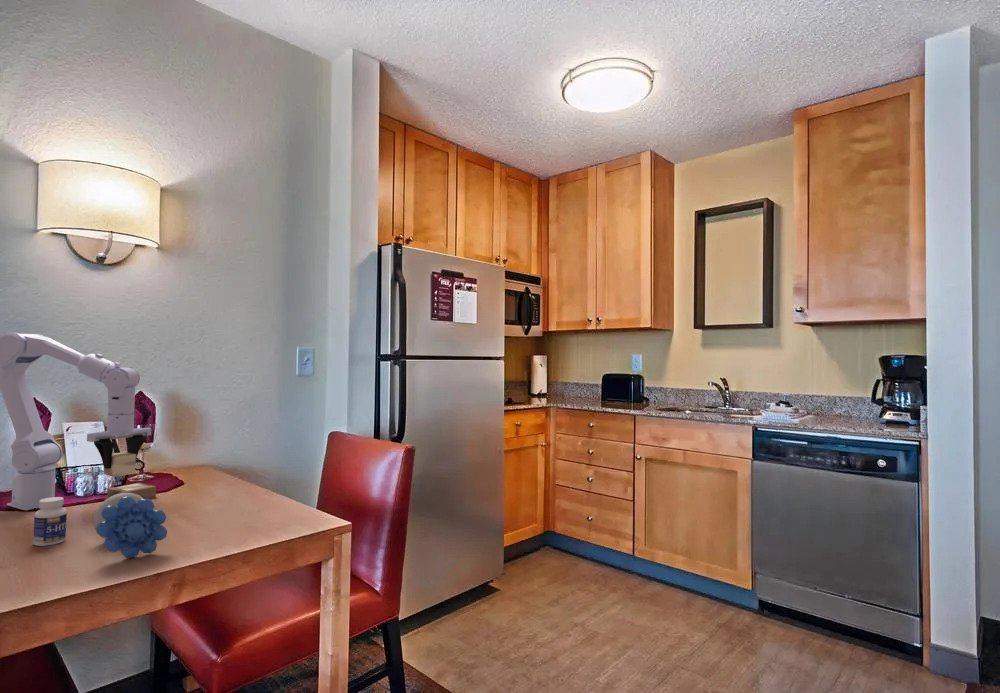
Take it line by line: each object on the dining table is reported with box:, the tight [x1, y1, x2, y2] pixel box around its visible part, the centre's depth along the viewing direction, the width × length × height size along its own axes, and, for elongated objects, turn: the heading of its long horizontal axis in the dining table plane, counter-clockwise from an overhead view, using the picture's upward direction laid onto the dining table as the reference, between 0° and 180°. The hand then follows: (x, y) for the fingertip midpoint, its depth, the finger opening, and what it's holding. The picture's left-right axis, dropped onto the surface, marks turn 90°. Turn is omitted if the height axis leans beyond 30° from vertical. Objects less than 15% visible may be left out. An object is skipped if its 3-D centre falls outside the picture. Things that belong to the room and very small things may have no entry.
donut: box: [92, 493, 143, 540], centre depth 117 cm, size 10×4×10 cm, turn 135°
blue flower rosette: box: [95, 497, 168, 559], centre depth 107 cm, size 12×7×12 cm, turn 129°
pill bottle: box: [32, 496, 68, 547], centre depth 115 cm, size 5×5×9 cm
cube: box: [103, 451, 137, 478], centre depth 144 cm, size 5×5×5 cm
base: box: [106, 482, 157, 500], centre depth 150 cm, size 8×8×3 cm
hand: (119, 466), depth 144 cm, fingers closed on cube, 5 cm apart
